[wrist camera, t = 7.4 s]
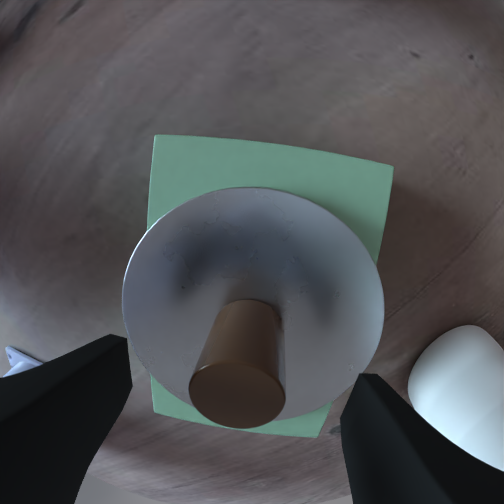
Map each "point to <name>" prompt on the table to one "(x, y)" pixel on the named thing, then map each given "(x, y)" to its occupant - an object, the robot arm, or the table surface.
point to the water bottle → (463, 391)
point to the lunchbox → (274, 176)
